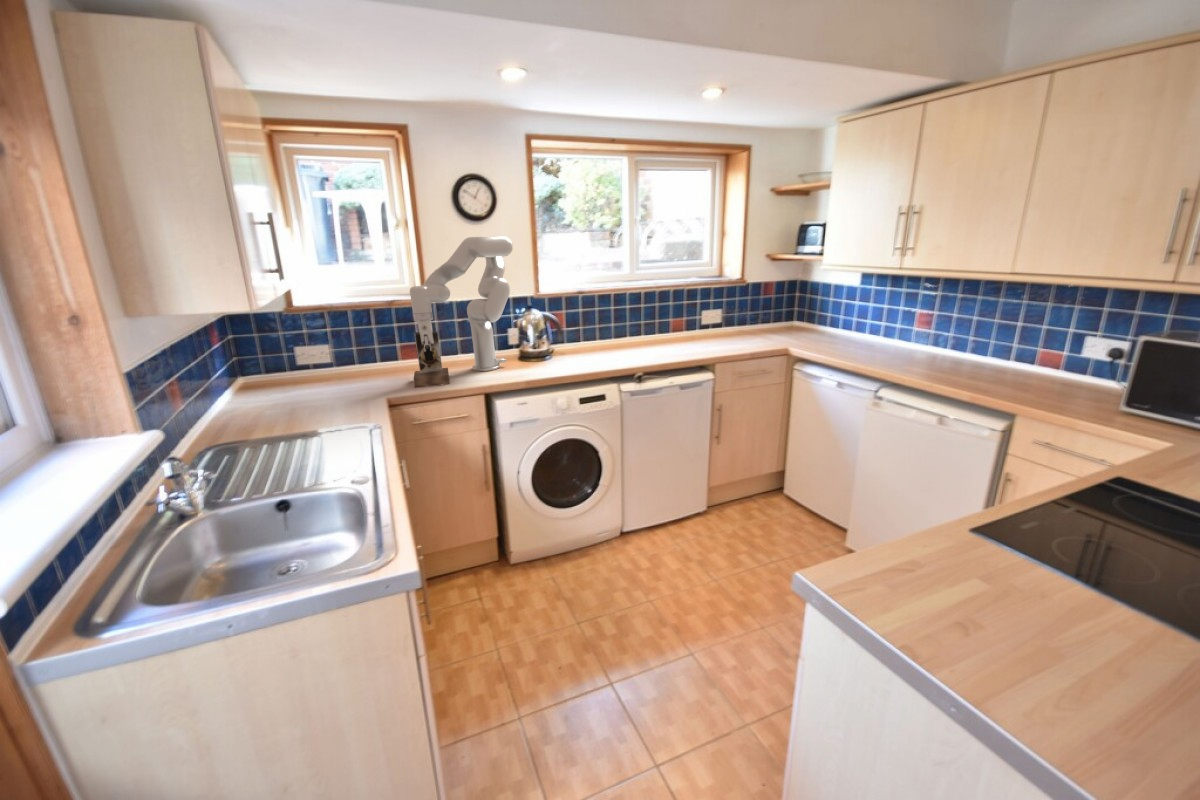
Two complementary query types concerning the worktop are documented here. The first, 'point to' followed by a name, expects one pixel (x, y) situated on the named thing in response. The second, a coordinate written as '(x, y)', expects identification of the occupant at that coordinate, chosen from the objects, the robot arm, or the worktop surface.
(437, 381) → the walnut plinth
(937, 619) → the worktop surface
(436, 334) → the coffee box
